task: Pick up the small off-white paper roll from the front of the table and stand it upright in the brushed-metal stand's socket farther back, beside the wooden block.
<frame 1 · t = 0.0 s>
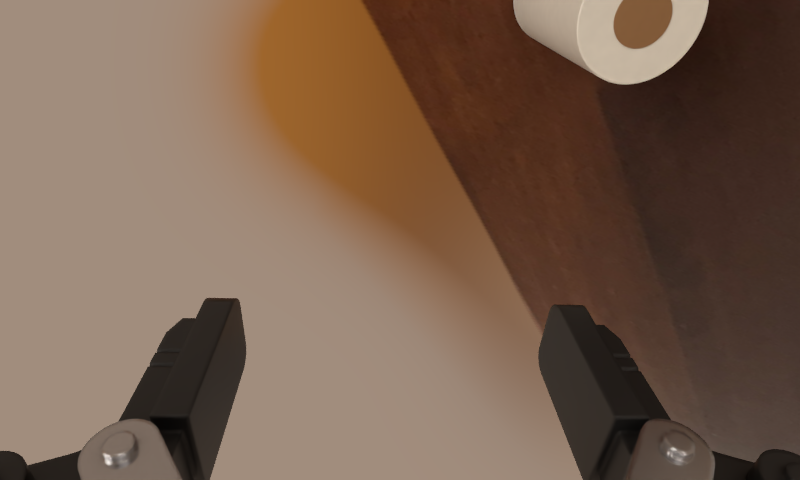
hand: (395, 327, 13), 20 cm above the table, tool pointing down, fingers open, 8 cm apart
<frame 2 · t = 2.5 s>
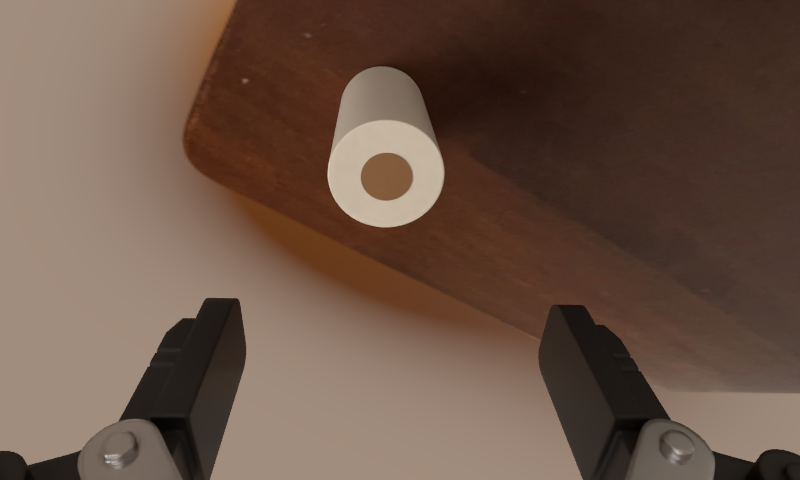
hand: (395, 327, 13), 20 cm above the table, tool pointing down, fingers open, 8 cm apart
paper roll: (382, 109, 29), on the table
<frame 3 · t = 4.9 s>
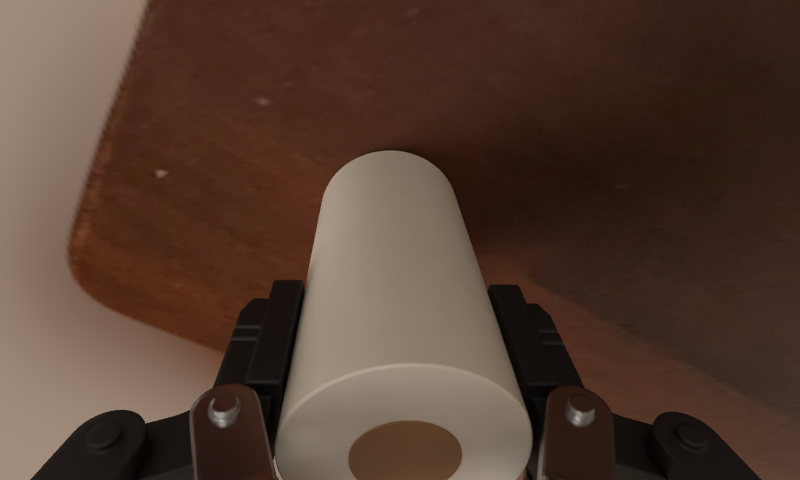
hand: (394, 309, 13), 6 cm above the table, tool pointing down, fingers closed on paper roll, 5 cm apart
paper roll: (389, 214, 18), on the table, touching gripper
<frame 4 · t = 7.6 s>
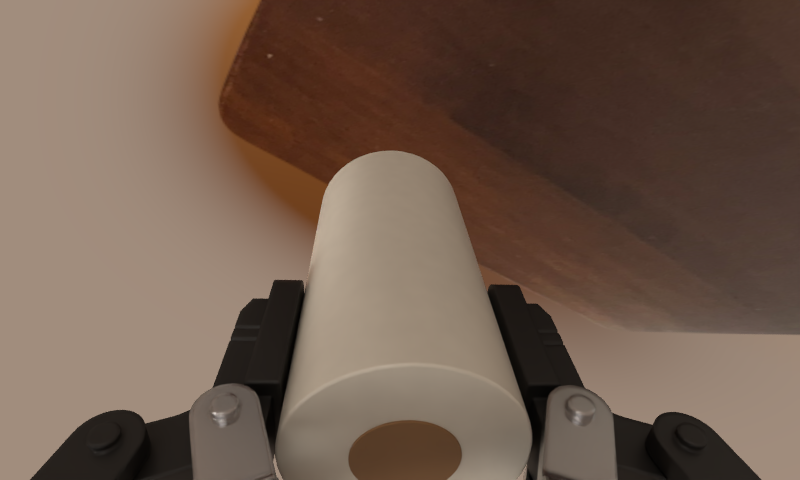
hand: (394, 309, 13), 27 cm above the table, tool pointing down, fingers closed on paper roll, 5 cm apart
paper roll: (389, 214, 18), point 22 cm above the table, touching gripper
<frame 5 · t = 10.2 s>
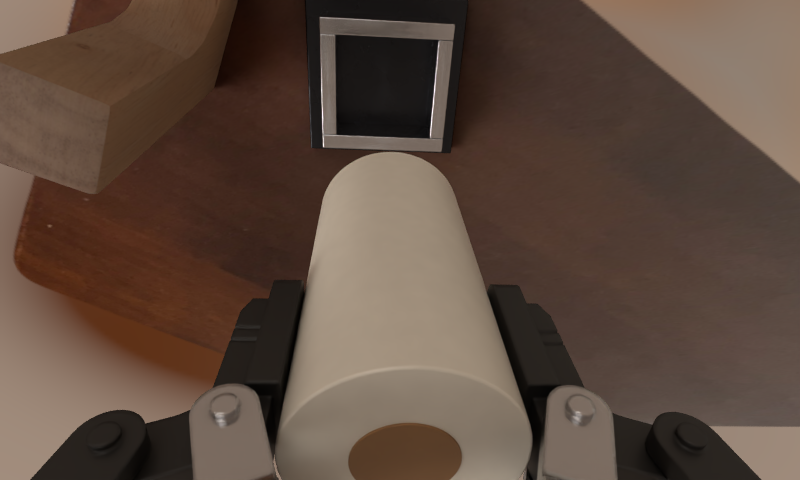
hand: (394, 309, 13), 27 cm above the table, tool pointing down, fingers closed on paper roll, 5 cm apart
paper roll: (389, 215, 18), point 21 cm above the table, touching gripper
wooden block: (198, 17, 34), on the table
stand: (384, 76, 36), on the table
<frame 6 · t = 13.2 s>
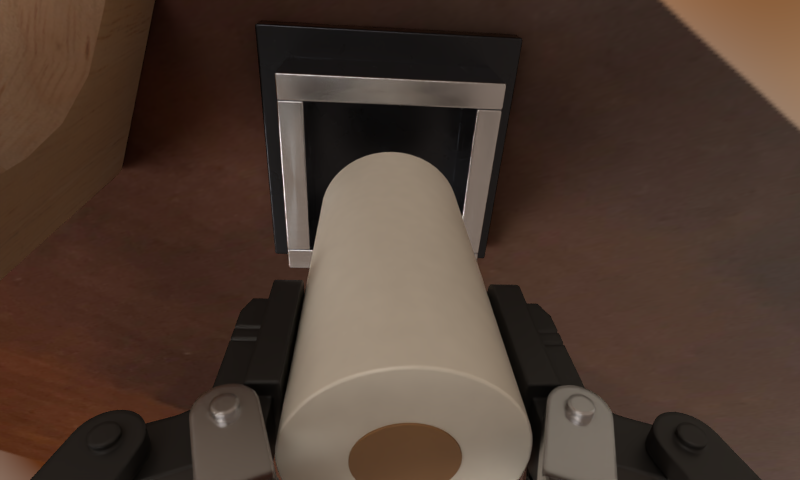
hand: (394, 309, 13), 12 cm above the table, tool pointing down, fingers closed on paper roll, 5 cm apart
paper roll: (389, 215, 18), point 7 cm above the table, touching gripper
wooden block: (88, 65, 21), on the table
stand: (385, 150, 24), on the table
when the fingers open (7 cm above the table, at t = 15.4 s): paper roll stays where it is, resting on stand.
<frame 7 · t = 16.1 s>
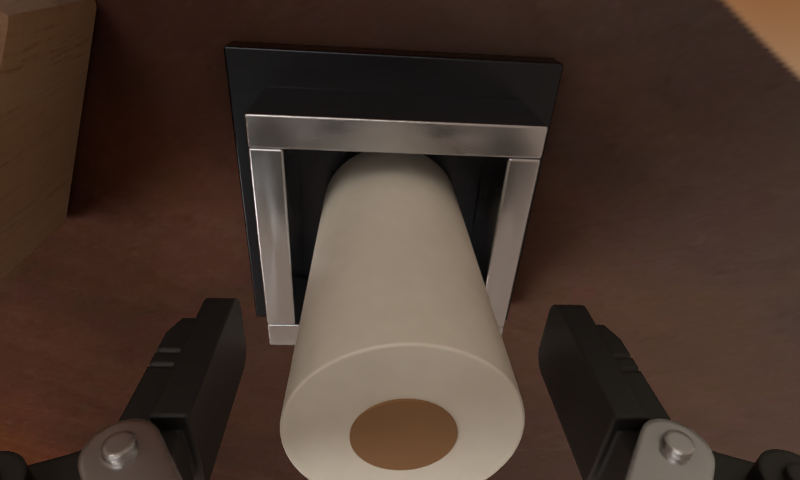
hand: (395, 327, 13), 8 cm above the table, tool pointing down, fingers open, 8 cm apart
paper roll: (390, 208, 18), point 1 cm above the table, touching stand
wooden block: (18, 95, 17), on the table
stand: (389, 195, 19), on the table
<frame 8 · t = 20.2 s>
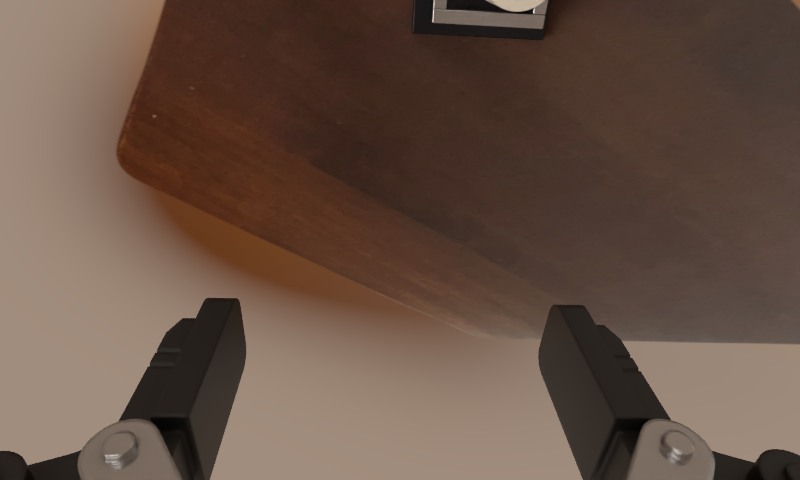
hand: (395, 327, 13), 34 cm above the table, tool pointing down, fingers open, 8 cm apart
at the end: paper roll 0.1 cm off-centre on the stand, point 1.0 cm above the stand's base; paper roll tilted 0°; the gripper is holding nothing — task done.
